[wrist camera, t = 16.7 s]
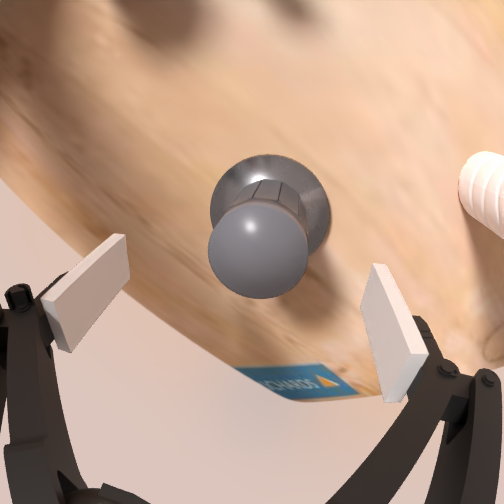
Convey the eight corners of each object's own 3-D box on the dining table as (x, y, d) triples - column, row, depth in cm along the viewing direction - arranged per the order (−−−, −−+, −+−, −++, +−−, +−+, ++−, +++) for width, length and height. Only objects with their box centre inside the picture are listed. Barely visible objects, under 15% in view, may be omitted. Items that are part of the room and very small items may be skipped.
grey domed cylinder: (219, 221, 27) (190, 263, 19) (259, 165, 24) (243, 186, 17) (276, 261, 27) (268, 314, 20) (319, 208, 25) (328, 248, 18)
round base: (191, 224, 28) (166, 251, 22) (254, 130, 24) (241, 134, 18) (281, 285, 29) (277, 324, 24) (352, 202, 25) (367, 227, 20)
